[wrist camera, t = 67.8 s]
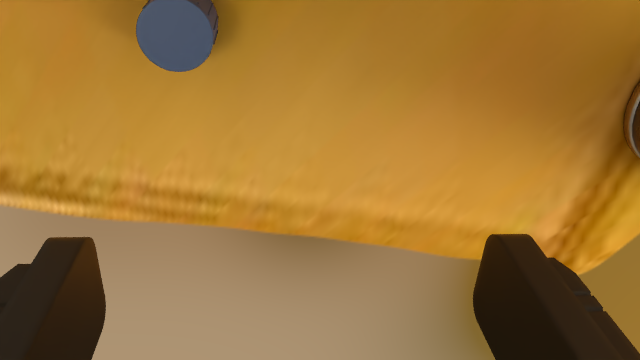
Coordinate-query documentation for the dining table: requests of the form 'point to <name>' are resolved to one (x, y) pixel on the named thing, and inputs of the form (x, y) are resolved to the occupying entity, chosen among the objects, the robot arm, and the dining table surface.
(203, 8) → the cap
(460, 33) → the dining table surface
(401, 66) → the dining table surface
